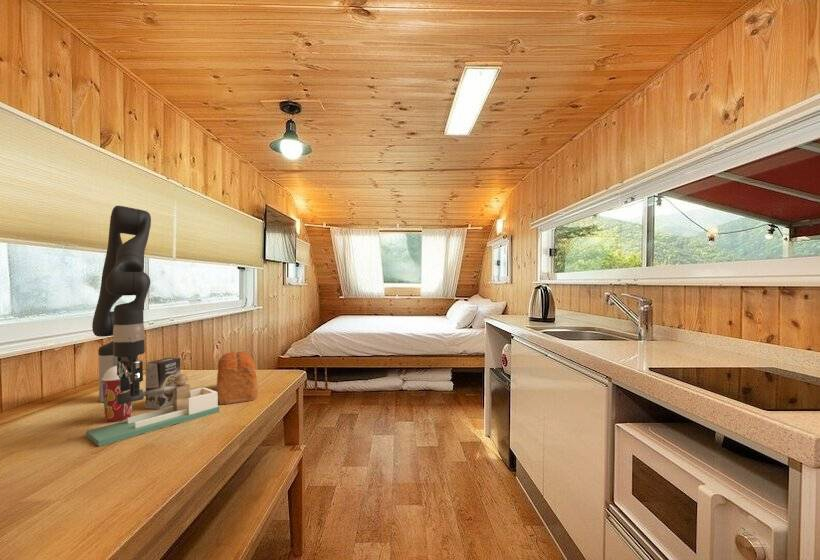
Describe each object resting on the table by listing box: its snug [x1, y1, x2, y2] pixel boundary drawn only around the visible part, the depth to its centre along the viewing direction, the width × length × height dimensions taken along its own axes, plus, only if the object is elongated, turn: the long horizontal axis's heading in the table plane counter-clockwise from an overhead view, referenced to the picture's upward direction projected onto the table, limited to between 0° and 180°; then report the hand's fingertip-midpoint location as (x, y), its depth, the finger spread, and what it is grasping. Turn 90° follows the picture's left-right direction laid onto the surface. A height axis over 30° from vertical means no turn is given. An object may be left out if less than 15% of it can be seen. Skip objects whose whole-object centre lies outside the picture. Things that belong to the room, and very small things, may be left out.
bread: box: [215, 351, 259, 405], centre depth 146 cm, size 14×27×15 cm, turn 27°
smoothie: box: [101, 365, 133, 423], centre depth 120 cm, size 8×8×20 cm
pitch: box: [85, 387, 220, 447], centre depth 116 cm, size 12×32×6 cm, turn 143°
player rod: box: [116, 373, 191, 412], centre depth 115 cm, size 4×19×12 cm, turn 143°
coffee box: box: [145, 357, 181, 410], centre depth 133 cm, size 9×6×16 cm
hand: (129, 393), depth 110 cm, fingers open, 8 cm apart
